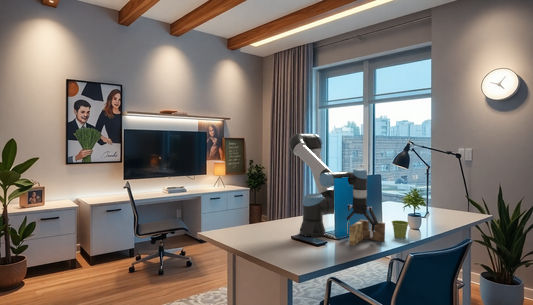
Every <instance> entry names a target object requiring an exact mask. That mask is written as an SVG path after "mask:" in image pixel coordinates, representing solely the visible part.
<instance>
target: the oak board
mask: <svg viewBox="0 0 533 305" xmlns="http://www.w3.org/2000/svg"><path fill="white" fill-rule="evenodd" d="M348 240H349V243H348V244H349V246H356V245H358V243H359V242H362V241H363V240H364V238H363V222H360V221H359V220H358V221H356V222H355V223H353V224H351V225H349V239H348Z"/></svg>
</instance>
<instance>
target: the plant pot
mask: <svg viewBox="0 0 533 305" xmlns="http://www.w3.org/2000/svg"><path fill="white" fill-rule="evenodd" d="M391 224H392V230H393V236H394V238H398V239H405V238H406V237H407V236H406V235H407V231H408V227H409V225H410V222H409V221H406V220H391Z"/></svg>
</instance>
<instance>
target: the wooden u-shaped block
mask: <svg viewBox="0 0 533 305" xmlns="http://www.w3.org/2000/svg"><path fill="white" fill-rule="evenodd" d="M358 221H360V222H363V239H365V240H366V239H367V240H371V241H372V240H373V241H378V242H385V241H386V240H385V239H386V237H385V236H386V232H385V231H386V223H385V222H381V221H378V224H377V225H375V231H374V232H373V237H372V238H370V222H369V221H368V219H367V220H366V219H359V220H358Z"/></svg>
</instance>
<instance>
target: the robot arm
mask: <svg viewBox="0 0 533 305" xmlns="http://www.w3.org/2000/svg"><path fill="white" fill-rule="evenodd" d="M288 147H289V150H290V151H291V152H292V154H293V155H295V156H298V157H299V158H300V159H301V160H302V161H303V162H304V164H305V165H306V166H308V167H309V169H310V170H311V174H312V178H313V180H314V183H315V186H316V188H317V193H308V194H306V195H304V196H303V200H302V221H301V225H300V229H299V234H301V235H300V236H302V235H306V236H311V237H310V238H321V237H325V236H324V234H325V235H326V228H325V224H324V222H323V219H324V216H327V215H335V214H334V189H335V188H333V187H335V186H334V179H335V178H342V177H349V178H348V182H349V184H350V185H349V186H352V185H353V186H352V196H353V197H352V204H350V205H349V204H347V205H348V211H349V212H350V211H351V209H352V211H351V213H350V214H349V215H347V216H346V218H347V220H348V222H349V220H350V219H351V218H352V217H353V216H354V215H355V214H356V215H358V214H359V215H362V216H364V217H365V219H367V221H369V230H370V238H372V237H373V232H374V231H375V225H377V224H378V222H379V220H378V219H377V217H376V214H375V212H374V209H373V206H367V205H368V203H367V202H368V198H367V197H368V171H367V170H366V169H365V168H364V169H363V168H362V169H360V168H356V169H353V171H345V170H342V171H336V172H335V171H332V169H330V168H329V167H328V166H327V165H326V164H325V163H324V161H323V158H322V156H321V152H322V148H323V140H322V138H321V136H320V135H318V134H315V133H298V132H297V133H295V134H293V135H292V136H291V137H290V138H289V141H288ZM367 211H368V212H369V213H368V212H367ZM369 214H370V215H369ZM348 222H347V234H346V235H348V234H349V233H348ZM306 236H305V237H306Z"/></svg>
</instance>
